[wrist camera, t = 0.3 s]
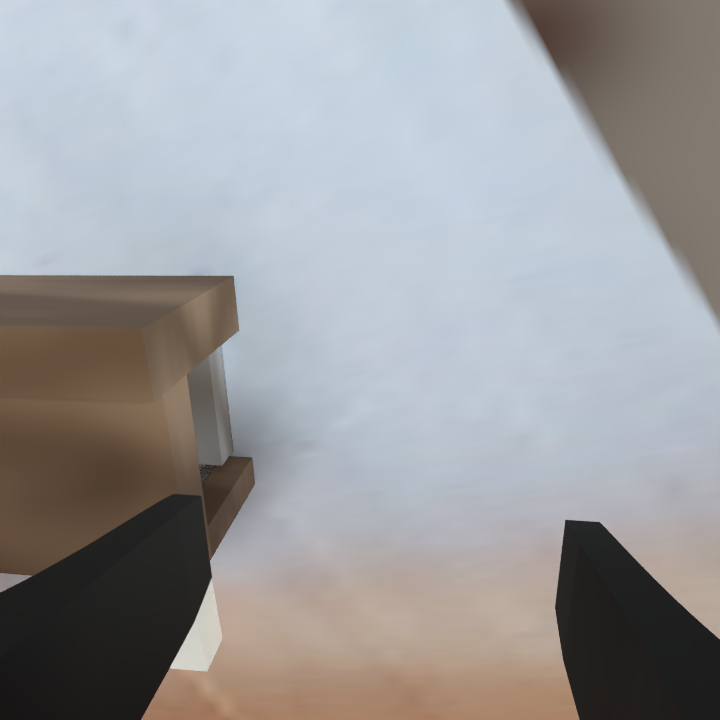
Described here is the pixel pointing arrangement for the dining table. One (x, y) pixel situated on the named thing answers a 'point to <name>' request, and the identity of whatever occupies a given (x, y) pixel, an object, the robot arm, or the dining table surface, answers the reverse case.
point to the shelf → (111, 408)
